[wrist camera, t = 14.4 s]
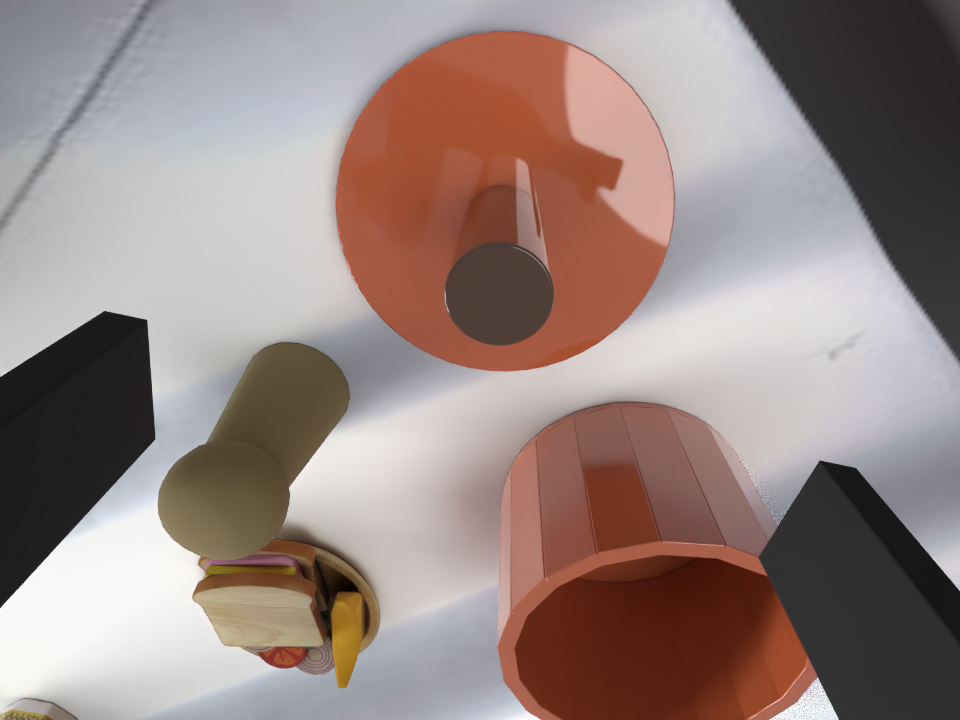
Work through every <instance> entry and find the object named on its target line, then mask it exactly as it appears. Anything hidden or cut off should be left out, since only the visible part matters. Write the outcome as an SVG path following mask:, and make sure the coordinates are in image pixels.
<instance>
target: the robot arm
mask: <svg viewBox="0 0 960 720" xmlns="http://www.w3.org/2000/svg"><path fill="white" fill-rule="evenodd" d="M154 440H155V426H154V411H153V397H152V382H151V368H150V353H149V339H148V325H147V320H145V319H140V318H135V317H131V316H126V315H121V314H116V313H111V312H107V311H104V312H102V313H101V314H99V315H98V316H96V317H94V318H93V319H91V320H90V321H88V322H87V323H85V324H83V325H82V326H80V327H79V328H77V329H76V330H74V331H72V332H71V333H69V334H68V335H66V336H64V337H63V338H61V339H60V340H58V341H57V342H55V343H53V344H52V345H50V346H49V347H47V348H46V349H44V350H42V351H41V352H39V353H38V354H36V355H34V356H33V357H31V358H30V359H28V360H27V361H25V362H23V363H22V364H20V365H19V366H17V367H16V368H14V369H12V370H11V371H9V372H8V373H6V374H4V375H3V376H1V377H0V608H1V607H2V606H3V604H4V603H5V602H6V601H7V600H8V599H9V598H10V597H11V596H12V595H13V594H14V592H15V591H16V590H17V589H18V588H19V587H20V586H21V585H22V584H23V583H24V582H25V581H26V579H27V578H28V577H29V576H30V575H31V574H32V573H33V572H34V571H35V570H36V569H37V567H38V566H39V565H40V564H41V563H42V562H43V561H44V560H45V559H46V558H47V557H48V556H49V554H50V553H51V552H52V551H53V550H54V549H55V548H56V547H57V546H58V545H59V544H60V542H61V541H62V540H63V539H64V538H65V537H66V536H67V535H68V534H69V533H70V532H71V530H72V529H73V528H74V527H75V526H76V525H77V524H78V523H79V522H80V521H81V520H82V519H83V517H84V516H85V515H86V514H87V513H88V512H89V511H90V510H91V509H92V508H93V507H94V505H95V504H96V503H97V502H98V501H99V500H100V499H101V498H102V497H103V496H104V495H105V494H106V492H107V491H108V490H109V489H110V488H111V487H112V486H113V485H114V484H115V483H116V482H117V480H118V479H119V478H120V477H121V476H122V475H123V474H124V473H125V472H126V471H127V470H128V468H129V467H130V466H131V465H132V464H133V463H134V462H135V461H136V460H137V459H138V458H139V457H140V455H141V454H142V453H143V452H144V451H145V450H146V449H147V448H148V447H149V446H150V445H151V443H152V442H153V441H154ZM758 558H759V560H760V562H761V564H762V566H763V568H764V570H765V572H766V574H767V576H768V578H769V580H770V582H771V584H772V586H773V588H774V590H775V592H776V594H777V596H778V598H779V600H780V602H781V604H782V606H783V608H784V610H785V612H786V614H787V616H788V618H789V620H790V622H791V624H792V626H793V628H794V630H795V632H796V634H797V636H798V638H799V640H800V642H801V644H802V646H803V648H804V650H805V652H806V654H807V656H808V658H809V660H810V662H811V664H812V666H813V668H814V670H815V672H816V674H817V676H818V678H819V680H820V682H821V684H822V686H823V688H824V690H825V692H826V694H827V696H828V698H829V700H830V702H831V704H832V706H833V708H834V710H835V712H836V714H837V716H838V718H839V720H960V591H959V590H958V588H957V587H956V586H955V585H954V584H953V583H952V581H951V580H950V579H949V578H948V577H947V575H946V574H945V573H944V572H943V571H942V569H941V568H940V567H939V566H938V565H937V564H936V562H935V561H934V560H933V559H932V558H931V556H930V555H929V554H928V553H927V552H926V551H925V549H924V548H923V547H922V546H921V545H920V543H919V542H918V541H917V540H916V539H915V537H914V536H913V535H912V534H911V533H910V532H909V530H908V529H907V528H906V527H905V526H904V524H903V523H902V522H901V521H900V520H899V519H898V517H897V516H896V515H895V514H894V513H893V511H892V510H891V509H890V508H889V507H888V505H887V504H886V503H885V502H884V501H883V500H882V498H881V497H880V496H879V495H878V494H877V492H876V491H875V490H874V489H873V488H872V487H871V485H870V484H869V483H868V482H867V481H866V479H865V478H864V477H863V476H862V475H861V473H860V472H859V471H858V470H857V469H856V468H853V467H848V466H844V465H839V464H834V463H829V462H824V461H819V462H818V464H817V466H816V467H815V469H814V470H813V472H812V474H811V475H810V477H809V478H808V480H807V481H806V483H805V485H804V486H803V488H802V489H801V491H800V492H799V494H798V496H797V497H796V499H795V500H794V502H793V503H792V505H791V507H790V508H789V510H788V511H787V513H786V514H785V516H784V518H783V519H782V521H781V522H780V524H779V526H778V527H777V529H776V530H775V532H774V533H773V535H772V537H771V538H770V540H769V541H768V543H767V544H766V546H765V548H764V549H763V551H762V552H761V554H760V555H759V557H758Z"/></svg>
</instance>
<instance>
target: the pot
mask: <svg viewBox="0 0 960 720" xmlns="http://www.w3.org/2000/svg"><path fill="white" fill-rule="evenodd" d="M777 527H778V526H777V524H776V522H775V521H774V519H773V517H772V515H771V514H770V512H769V510H768V508H767V507H766V505H765V503H764V501H763V500H762V498H761V496H760V494H759V492H758V491H757V489H756V487H755V485H754V484H753V482H752V480H751V478H750V477H749V475H748V473H747V471H746V470H745V468H744V466H743V464H742V462H741V461H740V459H739V457H738V455H737V454H736V452H735V451H734V450H733V449H732V448H731V447H730V446H729V444H728V443H727V442H726V441H725V440H724V439H723V437H722V436H721V435H720V434H719V433H718V432H717V431H715V430H714V429H713V428H712V427H710V426H709V425H708V424H706V423H705V422H703V421H701V420H699V419H698V418H696V417H694V416H692V415H690V414H687V413H685V412H683V411H680V410H677V409H674V408H670V407H667V406H663V405H656V404H650V403H636V402H625V403H612V404H606V405H600V406H595V407H591V408H588V409H585V410H581V411H578V412H576V413H573V414H571V415H568V416H566V417H564V418H562V419H560V420H558V421H556V422H555V423H553V424H551V425H549V426H548V427H547V428H545V429H544V430H542V431H541V432H540V433H538V434H537V435H536V436H535V437H534V438H533V439H532V440H531V441H530V442H528V443H527V444H526V446H525V447H524V448H523V449H522V450H521V452H520V453H519V454H518V455H517V457H516V459H515V460H514V462H513V464H512V466H511V467H510V470H509V472H508V475H507V477H506V480H505V485H504V490H503V495H502V498H501V521H500V563H499V605H498V647H497V648H498V653H499V659H500V664H501V669H502V675H503V680H504V682H505V684H506V685H507V686H508V688H509V689H510V690H511V692H512V693H513V694H514V695H515V697H516V698H517V699H518V700H519V702H520V703H521V704H522V706H523V707H524V708H525V709H526V711H528V712H529V713H531V714H533V715H534V716H536V717H537V718H539V719H541V720H769V719H771V718H772V717H774V716H776V715H777V714H779V713H780V712H782V711H784V710H785V709H787V708H788V707H790V706H792V705H793V704H794V703H796V702H797V701H798V700H799V698H800V697H801V696H802V695H803V694H804V692H805V691H806V690H807V689H808V687H809V686H810V685H811V684H812V683H813V681H814V680H815V679H816V678H817V677H818V676H817V674H816V672H815V670H814V668H813V666H812V664H811V662H810V660H809V658H808V656H807V654H806V652H805V650H804V648H803V646H802V644H801V642H800V640H799V638H798V636H797V634H796V632H795V630H794V628H793V626H792V624H791V622H790V620H789V618H788V616H787V614H786V612H785V610H784V608H783V606H782V604H781V602H780V600H779V598H778V596H777V594H776V592H775V590H774V588H773V586H772V584H771V582H770V580H769V578H768V576H767V574H766V572H765V570H764V568H763V566H762V564H761V562H760V560H759V558H758V557H759V555H760V554H761V552H762V551H763V549H764V548H765V546H766V544H767V543H768V541H769V540H770V538H771V537H772V535H773V533H774V532H775V530H776V529H777Z"/></svg>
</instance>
